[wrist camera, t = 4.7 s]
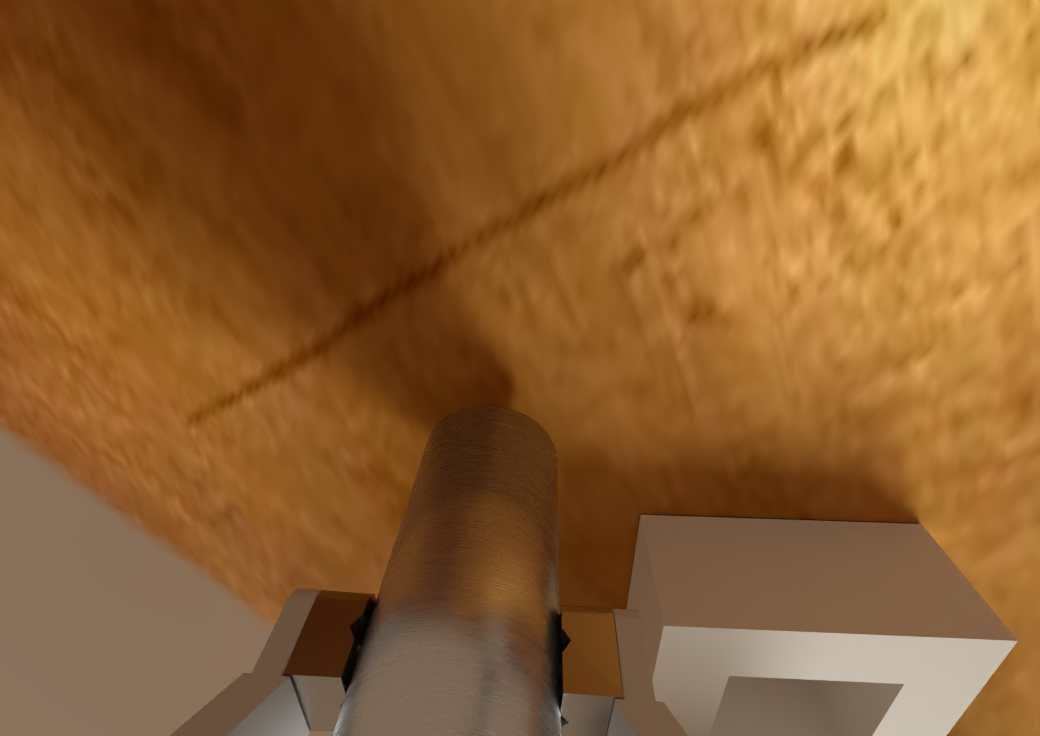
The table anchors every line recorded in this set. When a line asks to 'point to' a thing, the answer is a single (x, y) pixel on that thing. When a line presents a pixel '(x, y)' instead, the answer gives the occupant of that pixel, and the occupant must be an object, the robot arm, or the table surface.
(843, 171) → the table surface
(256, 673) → the robot arm
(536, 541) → the peg
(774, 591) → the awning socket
